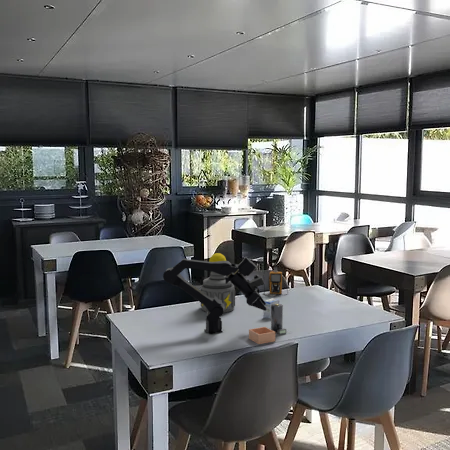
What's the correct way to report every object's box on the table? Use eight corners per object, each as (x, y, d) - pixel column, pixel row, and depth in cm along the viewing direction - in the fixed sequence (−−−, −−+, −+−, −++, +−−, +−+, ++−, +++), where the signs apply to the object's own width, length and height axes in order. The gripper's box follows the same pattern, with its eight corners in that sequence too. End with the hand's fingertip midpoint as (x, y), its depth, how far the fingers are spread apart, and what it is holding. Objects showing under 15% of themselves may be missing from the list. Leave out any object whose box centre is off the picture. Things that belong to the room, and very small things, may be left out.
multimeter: (262, 296, 290) (262, 262, 288) (263, 292, 300) (263, 260, 298) (287, 297, 287) (287, 263, 285) (288, 293, 297) (288, 260, 295)
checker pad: (273, 337, 216) (273, 331, 216) (261, 330, 225) (261, 325, 225) (292, 333, 221) (292, 328, 221) (279, 327, 230) (279, 322, 230)
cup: (258, 345, 206) (258, 334, 206) (248, 339, 213) (248, 329, 213) (275, 342, 210) (275, 331, 209) (265, 336, 217) (265, 326, 217)
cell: (274, 333, 220) (275, 306, 218) (268, 330, 224) (268, 303, 223) (284, 331, 222) (285, 304, 221) (278, 328, 227) (278, 302, 225)
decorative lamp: (242, 309, 261) (242, 253, 258) (212, 315, 250) (212, 257, 247) (222, 302, 276) (222, 249, 273) (193, 307, 265) (193, 252, 262)
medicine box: (271, 314, 252) (272, 297, 251) (279, 316, 249) (279, 299, 248) (263, 317, 246) (263, 300, 245) (270, 319, 243) (270, 302, 242)
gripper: (254, 274, 211) (279, 300, 212) (253, 266, 230) (276, 290, 231) (235, 292, 213) (261, 317, 213) (236, 283, 231) (260, 306, 232)
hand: (265, 307), depth 222 cm, fingers open, 9 cm apart
